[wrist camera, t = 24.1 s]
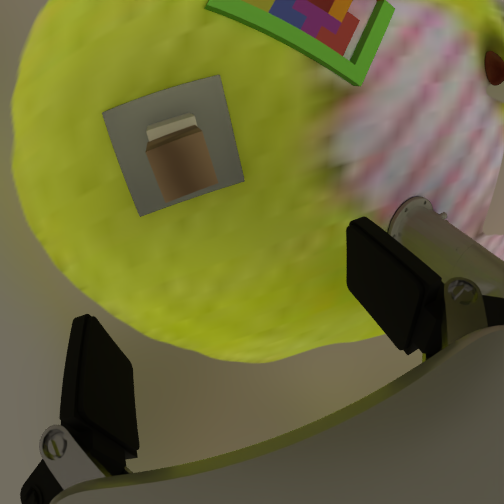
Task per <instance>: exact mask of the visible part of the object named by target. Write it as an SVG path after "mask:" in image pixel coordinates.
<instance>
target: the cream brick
mask: <svg viewBox="0 0 504 504" xmlns="http://www.w3.org/2000/svg"><path fill="white" fill-rule="evenodd" d="M192 125H196V126H197V123H196V119H195V116H194V115H193V114H191V113H186V114H183V115H180V116H176V117H173V118H170V119H167V120H164V121H160V122H157V123H154V124H152V125H149V126H148V127H147V130H146V133H147V136H148V139H149V141H152V140H154V139H157V138H160V137H162V136H165V135H167V134H170V133H173V132H175V131H178V130H181V129H184V128H187V127H189V126H192Z"/></svg>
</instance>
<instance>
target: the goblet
mask: <svg viewBox="0 0 504 504" xmlns="http://www.w3.org/2000/svg"><path fill="white" fill-rule="evenodd" d="M485 69H486V73H487V77H488V80H489V82H490V83H491V84H492V85H499V84H501V83H502V82H503V81H504V61H503V60H502V59H501V58H500V57H499V56H498V55H497V54H496V53H495V52H493V51H488V52H487V53H486V57H485Z"/></svg>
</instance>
